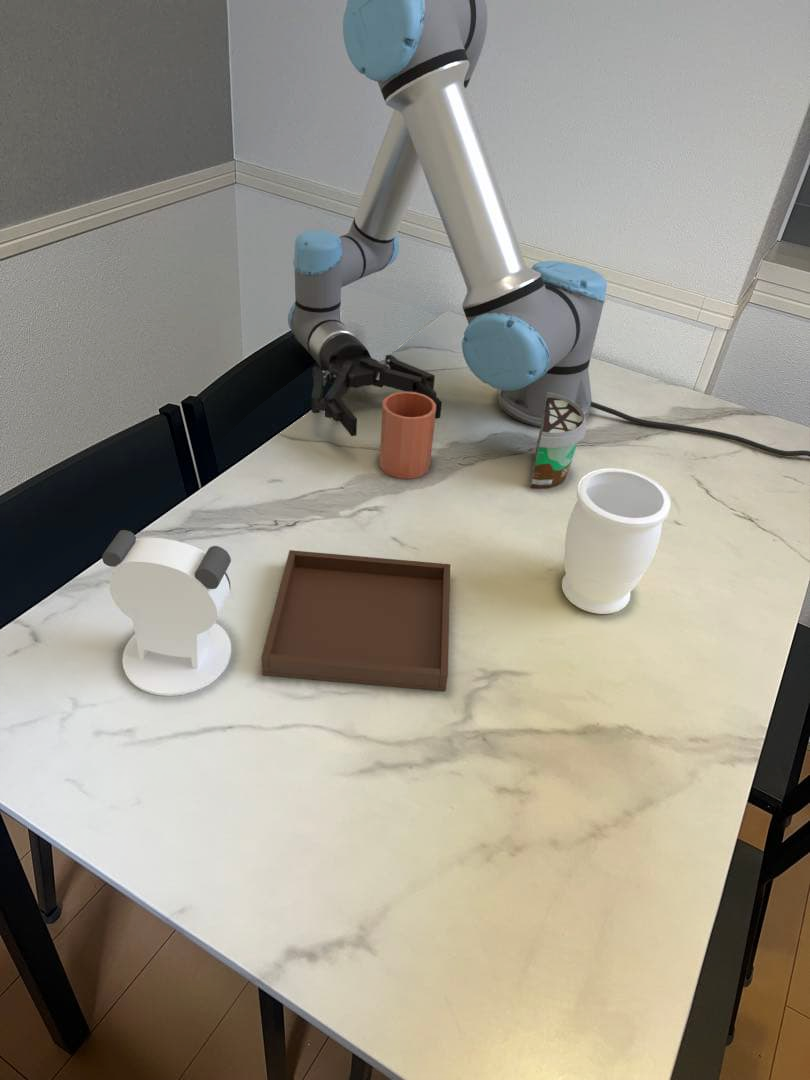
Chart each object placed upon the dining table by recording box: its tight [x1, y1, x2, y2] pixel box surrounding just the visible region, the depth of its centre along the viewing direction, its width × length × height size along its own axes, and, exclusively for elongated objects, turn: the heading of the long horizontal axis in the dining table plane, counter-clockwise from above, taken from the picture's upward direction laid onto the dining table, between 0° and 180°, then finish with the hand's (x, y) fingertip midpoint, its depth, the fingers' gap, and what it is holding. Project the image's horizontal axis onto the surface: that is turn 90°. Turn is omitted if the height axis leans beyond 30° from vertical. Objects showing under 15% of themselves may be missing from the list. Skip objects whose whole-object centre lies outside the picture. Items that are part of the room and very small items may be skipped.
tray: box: [260, 549, 451, 692], centre depth 91 cm, size 20×18×3 cm
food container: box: [530, 392, 587, 490], centre depth 115 cm, size 12×6×10 cm, turn 168°
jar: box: [561, 467, 672, 615], centre depth 94 cm, size 11×10×15 cm
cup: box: [378, 391, 436, 480], centre depth 114 cm, size 7×7×10 cm
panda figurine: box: [101, 529, 232, 697], centre depth 82 cm, size 12×11×15 cm
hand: (397, 419), depth 115 cm, fingers open, 13 cm apart
